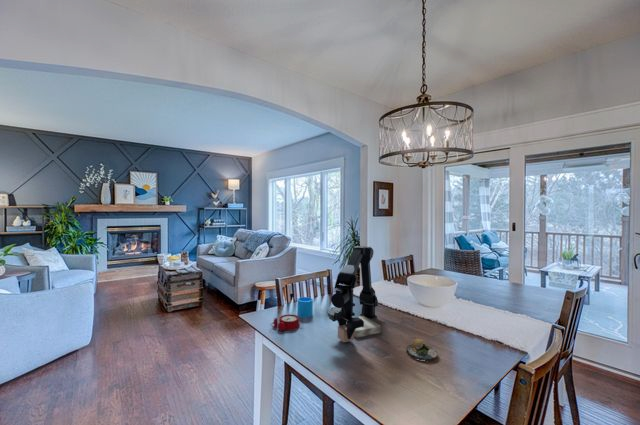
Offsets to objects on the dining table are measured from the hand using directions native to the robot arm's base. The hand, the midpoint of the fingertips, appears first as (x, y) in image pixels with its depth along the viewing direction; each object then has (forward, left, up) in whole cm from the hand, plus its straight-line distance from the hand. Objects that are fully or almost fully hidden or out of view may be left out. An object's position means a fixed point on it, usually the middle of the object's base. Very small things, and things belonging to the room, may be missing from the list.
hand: (345, 336), depth 126 cm
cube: (0, 0, -1) cm, 1 cm away
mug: (+3, -38, -2) cm, 38 cm away
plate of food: (-22, +22, -3) cm, 31 cm away
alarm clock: (+18, -25, -3) cm, 31 cm away
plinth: (-13, -8, -2) cm, 15 cm away
